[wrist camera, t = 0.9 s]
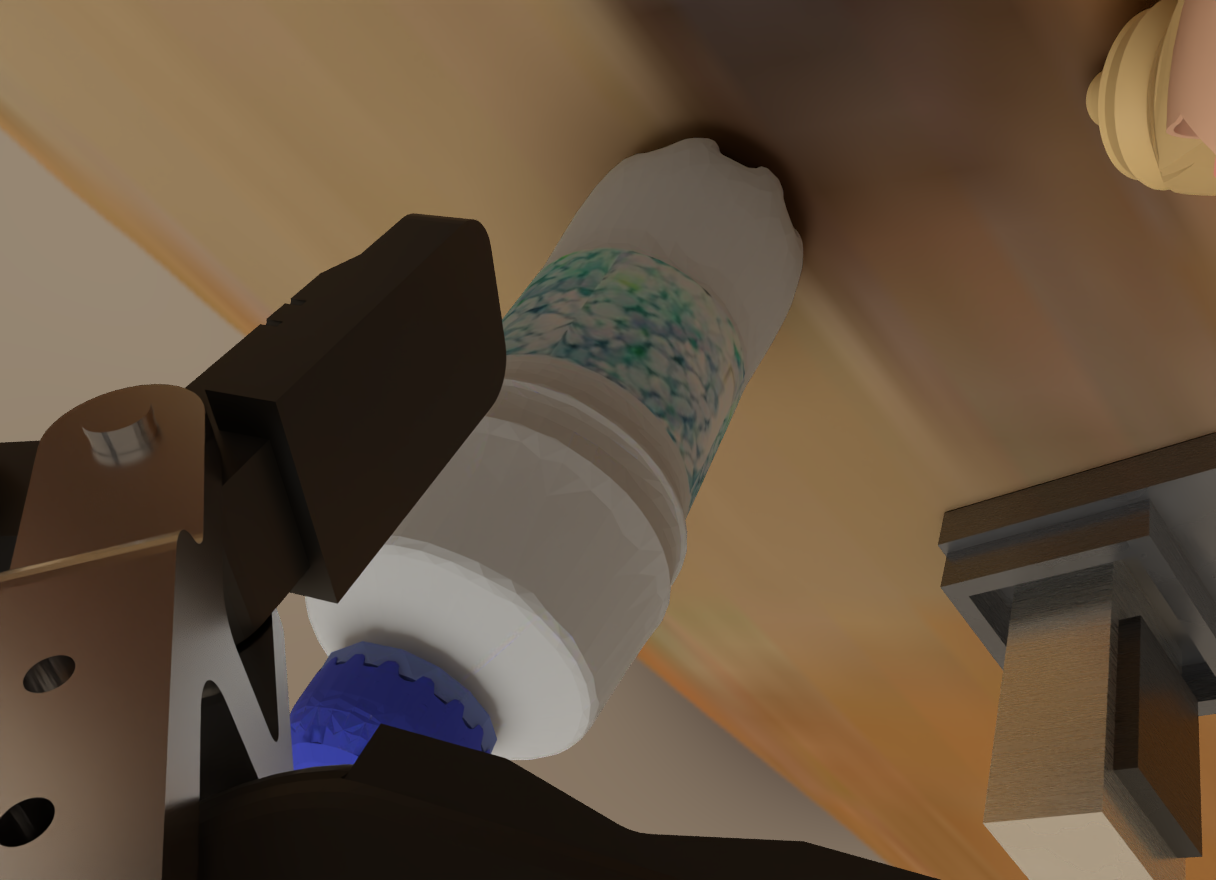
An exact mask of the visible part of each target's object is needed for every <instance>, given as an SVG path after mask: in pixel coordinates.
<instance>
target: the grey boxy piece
mask: <svg viewBox="0 0 1216 880" xmlns="http://www.w3.org/2000/svg"><path fill="white" fill-rule="evenodd" d="M938 546H939V547H940V549H941V550H942V551H943V553H944V554H945V555H946V562H945V567H944V572H943V577H942V582H941V589H942V590H943V591H944V593H945V594H946V595H947V597H948V598H949V599H950V600H951V602H952V603H953V604H954V606H955V607H956V608H957V610H958V611H959V612H960V614H961V615H962V616H963V618H964V619H965V620H966V622H967V623H968V624H969V626H970V627H971V628H972V630H973V631H974V632H975V634H976V635H977V636H978V638H979V639H980V640H981V642H982V643H983V644H984V646H985V647H986V648H987V650H988V651H989V652H990V654H991V655H992V656H993V658H994V659H995V660H996V662H997V663H998V664H999V665H1000V667H1001V668H1002V669H1003V676H1002V684H1001V691H1000V699H999V706H998V714H997V721H996V729H995V736H994V744H993V751H992V759H991V766H990V774H989V782H988V789H987V797H986V804H985V812H984V819H983V824H984V825H985V826H986V828H987V829H988V830H989V831H990V832H991V834H992V835H993V836H994V837H995V839H996V840H997V841H998V842H999V843H1000V845H1001V846H1002V847H1003V848H1004V849H1005V851H1006V852H1007V853H1008V854H1009V856H1010V857H1011V858H1012V859H1013V860H1014V862H1015V863H1016V864H1017V865H1018V866H1019V868H1020V869H1021V870H1022V871H1023V873H1024V874H1025V875H1026V876H1027V877H1028V879H1029V880H1185V858H1187V857H1202V828H1201V793H1200V758H1199V723H1198V716H1203V715H1210V714H1216V433H1214V434H1210V435H1207V436H1204V437H1200V438H1197V439H1194V440H1190V441H1187V442H1183V443H1180V444H1177V445H1173V446H1170V447H1166V448H1163V449H1160V450H1156V451H1153V452H1150V453H1146V454H1143V455H1139V456H1136V457H1133V458H1129V459H1126V460H1122V461H1119V462H1116V463H1112V464H1109V465H1106V466H1102V467H1099V468H1095V469H1092V470H1089V471H1085V472H1082V473H1078V474H1075V475H1072V476H1068V477H1065V478H1062V479H1058V480H1055V481H1051V482H1048V483H1045V484H1041V485H1038V486H1034V487H1031V488H1028V489H1024V490H1021V491H1018V492H1014V493H1011V494H1007V495H1004V496H1001V497H997V498H994V499H990V500H987V501H984V502H980V503H977V504H974V505H970V506H967V507H963V508H960V509H957V510H953V511H950V512H946V513H945V514H944V518H943V523H942V528H941V533H940V538H939V542H938Z"/></svg>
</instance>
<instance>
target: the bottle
mask: <svg viewBox="0 0 1216 880" xmlns="http://www.w3.org/2000/svg"><path fill="white" fill-rule="evenodd" d="M802 265H803V243H802V239H801V237H800V235H799V233H798V232H797V230H796V229H794V228H793V225H792V223H791V220H790V217H789V215H788V212H787V209H786V206H785V202H784V199H783V189H782V186H781V184H780V181H779V179H778V178H777V177H776V176H775V175H774V174H773V173H772V172H771V171H770V170H769V169H768V168H765V167H762V166H761V167H758V168H747V167H745V166H744V165H742V164H740V163H738V162H736V161H734V160H732V159H730V158H728V157H726V156H724V155H722V154H721V153H720V151H719V147H718V145H717V144H716V142H715V141H713V140H711V139H708V138H689V139H684V140H682V141H679V142H677V143H674V144H672V145H669V146H667V147H664V148H661V149H657V150H654V151H651V152H648V153H638V154H635V155H633V156H630V157H628V158H626V159H624V160H622V161H621V162H620V163H619V164H618V165H616V166H615V167H614V168H613V169H612V170H611V171H610V172H609V173H608V174H607V175H606V176H605V177H604V178H603V179H602V180H601V181H600V182H599V183H598V185H597V186H596V187H595V188H594V189H593V191H592V192H591V194H590V195H589V196H588V198H587V199H586V200H585V202H584V203H583V205H582V206H581V207H580V209H579V210H578V211H577V213H576V214H575V216H574V218H573V219H572V221H571V223H570V224H569V226H568V228H567V229H566V231H565V233H564V234H563V236H562V237H561V239H560V241H559V242H558V244H557V246H556V247H555V249H554V251H553V252H552V254H551V256H550V257H549V259H548V260H547V262H546V264H545V265H544V267H543V268H542V269H541V271H540V272H539V273H538V274H537V276H536V277H535V278H534V279H533V281H532V282H531V283H530V284H529V286H528V287H527V288H526V290H525V291H524V292H523V293H522V295H521V296H520V297H519V299H518V300H517V301H516V302H515V304H514V305H513V306H512V308H511V309H510V310H509V311H508V313H507V314H506V315H505V317H504V318H503V319H502V324H503V330H504V337H505V344H506V370H505V376H504V381H503V385H502V388H501V391H500V393H499V396H498V398H497V400H496V402H495V403H494V404H493V406H492V407H491V409H490V410H489V411H488V412H487V414H486V415H485V416H484V417H483V419H482V420H481V421H480V423H479V424H478V425H477V426H476V428H475V429H474V430H473V432H472V433H471V434H470V435H469V437H468V438H467V439H466V441H465V442H464V443H463V444H462V446H461V447H460V448H459V449H458V451H457V452H456V453H455V455H454V456H453V457H452V458H451V460H450V461H449V462H448V464H447V465H446V466H445V467H444V469H443V470H442V471H441V472H440V474H439V475H438V476H437V478H436V479H435V480H434V481H433V483H432V484H431V485H430V487H429V488H428V489H427V490H426V492H425V493H424V494H423V495H422V497H421V498H420V499H419V501H418V502H417V503H416V504H415V506H414V507H413V508H412V510H411V511H410V512H409V513H408V515H407V516H406V517H405V518H404V520H403V521H402V522H401V524H400V525H399V526H398V527H397V529H396V530H395V531H394V533H393V534H392V535H391V536H390V538H389V539H388V540H387V541H386V543H385V544H384V545H383V547H382V548H381V549H380V550H379V552H378V553H377V554H376V556H375V557H374V558H373V559H372V561H371V562H370V563H369V564H368V566H367V567H366V568H365V570H364V571H363V572H362V573H361V575H360V576H359V577H358V579H357V580H356V581H355V582H354V584H353V585H352V586H351V587H350V589H349V590H348V591H347V593H346V594H345V595H344V596H343V598H342V599H341V600H340V602H339V603H338V604H336V603H332V602H328V601H324V600H319V599H315V598H311V597H307V596H305V601H306V607H307V612H308V617H309V620H310V622H311V624H312V627H313V629H314V632H315V634H316V636H317V639H318V641H319V643H320V644H321V646H322V648H323V649H324V651H325V652H326V654H327V655H328V659H327V660H326V662H325V663H324V665H323V667H322V668H321V669H320V670H319V671H318V673H317V674H316V675H315V677H314V678H313V679H312V681H311V682H310V684H309V685H308V686H307V688H306V689H305V691H304V692H303V694H302V695H301V696H300V698H299V699H298V701H297V702H296V704H295V705H294V707H293V709H292V711H291V713H290V726H291V740H292V755H293V768H294V770H298V769H304V768H309V767H316V766H329V765H341V764H354V763H355V761H356V760H357V758H358V757H359V755H360V754H361V752H362V751H363V749H364V748H365V746H366V745H367V743H368V742H369V740H370V739H371V737H372V736H373V734H374V733H375V731H376V730H377V728H378V727H379V725H380V724H381V723H382V724H385V725H389V726H392V727H396V728H400V729H403V730H407V731H410V732H414V733H418V734H421V735H425V736H428V737H432V738H435V739H439V740H443V741H446V742H450V743H453V744H457V745H460V746H464V747H468V748H471V749H475V750H478V751H482V752H485V753H489V754H493V755H496V756H500V757H503V758H506V759H508V760H531V759H537V758H541V757H547V756H551V755H556V754H558V753H561V752H563V751H564V750H567V749H569V748H570V747H571V746H573V745H574V744H575V743H577V742H578V741H579V740H581V739H582V737H583V736H584V735H585V734H586V732H587V731H588V730H589V729H590V728H591V726H592V725H593V723H594V722H595V720H596V719H597V717H598V715H599V714H600V712H601V711H602V709H603V708H604V706H605V704H606V703H607V701H608V700H609V698H610V697H611V695H612V693H613V692H614V690H615V688H616V687H617V686H618V684H619V682H620V681H621V679H622V678H623V676H624V675H625V673H626V671H627V670H628V668H629V667H630V665H631V663H632V662H633V661H634V659H635V658H636V656H637V655H638V653H639V652H640V650H641V649H642V647H643V646H644V644H645V643H646V641H647V640H648V639H649V637H650V636H651V635H652V633H653V632H654V631H655V629H656V628H657V627H658V625H659V624H660V623H661V621H662V620H663V617H664V615H665V612H666V610H667V607H668V605H669V599H670V589H671V585H672V584H673V583H674V581H675V579H676V577H677V576H678V574H679V572H680V570H681V568H682V565H683V562H684V558H685V555H686V551H687V528H686V522H685V519H686V517H687V515H688V513H689V511H690V508H691V506H692V504H693V502H694V500H695V497H696V495H697V493H698V491H699V489H700V486H701V484H702V482H703V480H704V478H705V475H706V473H707V471H708V469H709V467H710V464H711V462H712V460H713V458H714V456H715V453H716V451H717V449H718V447H719V445H720V442H721V440H722V438H723V436H724V434H725V431H726V429H727V427H728V425H729V423H730V420H731V418H732V416H733V414H734V412H735V409H736V407H737V405H738V402H739V400H740V398H741V395H742V393H743V391H744V389H745V387H746V385H747V383H748V382H749V380H750V378H751V377H752V375H753V374H754V372H755V370H756V369H757V367H758V365H759V364H760V362H761V360H762V359H763V357H764V355H765V354H766V352H767V350H768V349H769V347H770V346H771V344H772V342H773V340H774V338H775V336H776V334H777V333H778V331H779V329H780V327H781V325H782V323H783V321H784V320H785V317H786V315H787V313H788V311H789V309H790V306H791V304H792V301H793V298H794V295H795V292H796V288H797V285H798V282H799V278H800V274H801V270H802Z"/></svg>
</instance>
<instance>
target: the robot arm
mask: <svg viewBox="0 0 1216 880" xmlns="http://www.w3.org/2000/svg"><path fill="white" fill-rule="evenodd" d="M505 370H506V344H505V337H504V330H503V324H502V317H501V311H500V304H499V297H498V291H497V284H496V277H495V271H494V264H493V257H492V251H491V245H490V240H489V237H488V234H487V232H486V230H485V228H484V226H483V225H482V224H481V223H480V222H479V221H477V220H473V219H463V218H453V217H443V216H433V215H424V214H409V215H406V216H405V217H403V218H402V219H401V220H400V221H399V222H397V223H396V224H395V225H394V226H393V227H392V228H391V229H389V230H388V231H387V232H386V233H385V234H384V235H382V236H381V237H380V238H379V239H378V240H377V241H375V242H374V243H373V244H372V245H371V246H370V247H369V248H367V249H366V250H365V251H364V252H363V253H362V254H360V255H358V256H356V257H354V258H352V259H350V260H348V261H346V262H344V263H341V264H339V265H337V266H335V267H333V268H331V269H329V270H327V271H325V272H323V273H321V274H319V275H318V276H317V277H316V278H315V279H313V280H312V281H311V282H310V283H309V284H307V285H306V286H305V287H304V288H303V289H302V290H300V291H299V292H298V293H297V294H296V295H294V296H293V297H292V298H291V304H284V305H283V306H281V307H280V308H279V309H278V310H277V311H276V312H274V313H273V314H272V315H271V316H270V317H268V318H267V323H266V325H261V324H260V325H259V326H258V327H257V328H255V329H254V330H253V331H252V332H251V333H250V334H248V335H247V336H246V337H245V338H244V339H242V340H241V341H240V342H239V343H238V344H237V345H235V346H234V347H233V348H232V349H231V350H229V351H228V352H227V353H226V354H225V355H224V356H222V357H221V358H220V359H219V360H218V361H216V362H215V363H214V364H213V365H212V366H210V367H209V368H208V369H207V370H206V371H205V372H203V373H202V374H201V375H200V376H199V377H197V378H196V379H195V380H194V381H193V382H192V383H190V384H189V385H188V386H187V387H186V388H182V387H179V386H173V385H165V384H151V385H139V386H133V387H127V388H123V389H120V390H115V391H112V392H109V393H106V394H103V395H100V396H98V397H95V398H93V399H91V400H88V401H86V402H84V403H83V404H80V405H78V406H77V407H75V408H73V409H72V410H70V411H69V412H67V413H65V414H64V415H63V416H61V417H60V418H59V419H58V420H57V421H55V422H54V423H53V424H52V425H51V426H50V427H49V428H48V430H47V431H46V432H45V434H44V435H43V437H42V438H41V440H40V441H25V442H5V443H0V880H940V879H936V878H932V877H929V876H925V875H922V874H918V873H915V872H911V871H907V870H904V869H900V868H897V867H893V866H890V865H886V864H882V863H878V862H875V861H872V860H868V859H864V858H861V857H857V856H854V855H850V854H846V853H843V852H839V851H836V850H832V849H829V848H825V847H822V846H818V845H814V844H811V843H807V842H804V841H783V840H762V839H761V840H760V839H741V838H720V837H699V836H678V835H657V834H645V833H639V832H635V831H632V830H629V829H627V828H625V827H623V826H620V825H619V824H617V823H615V822H613V821H612V820H610V819H608V818H607V817H605V816H603V815H602V814H600V813H598V812H596V811H595V810H593V809H591V808H590V807H588V806H586V805H584V804H583V803H581V802H579V801H578V800H576V799H574V798H572V797H571V796H569V795H568V794H566V793H564V792H563V791H561V790H559V789H557V788H556V787H554V786H552V785H551V784H549V783H547V782H546V781H544V780H542V779H540V778H539V777H537V776H535V775H534V774H532V773H530V772H529V771H527V770H525V769H523V768H522V767H520V766H518V765H517V764H515V763H513V762H511V761H510V760H508V759H506V758H503V757H500V756H496V755H493V754H489V753H485V752H482V751H478V750H475V749H471V748H468V747H464V746H460V745H457V744H453V743H450V742H446V741H443V740H439V739H435V738H432V737H428V736H425V735H421V734H418V733H414V732H410V731H407V730H403V729H400V728H396V727H392V726H389V725H385V724H382V723H381V724H380V725H379V727H378V728H377V730H376V731H375V733H374V734H373V736H372V737H371V739H370V740H369V742H368V743H367V745H366V746H365V748H364V749H363V751H362V752H361V754H360V755H359V757H358V758H357V760H356V761H355V763H354V764H341V765H329V766H316V767H309V768H304V769H298V770H294V768H293V755H292V740H291V726H290V712H289V698H288V684H287V670H286V656H285V642H284V631H283V626H282V623H281V620H280V617H279V614H278V611H277V609H276V607H277V606H278V605H279V604H280V603H281V602H282V600H283V599H284V598H285V597H286V596H287V594H288V593H289V592H290V593H295V594H299V595H303V596H307V597H311V598H315V599H319V600H324V601H328V602H332V603H336V604H338V603H339V602H340V600H341V599H342V598H343V596H344V595H345V594H346V593H347V591H348V590H349V589H350V587H351V586H352V585H353V584H354V582H355V581H356V580H357V579H358V577H359V576H360V575H361V573H362V572H363V571H364V570H365V568H366V567H367V566H368V564H369V563H370V562H371V561H372V559H373V558H374V557H375V556H376V554H377V553H378V552H379V550H380V549H381V548H382V547H383V545H384V544H385V543H386V541H387V540H388V539H389V538H390V536H391V535H392V534H393V533H394V531H395V530H396V529H397V527H398V526H399V525H400V524H401V522H402V521H403V520H404V518H405V517H406V516H407V515H408V513H409V512H410V511H411V510H412V508H413V507H414V506H415V504H416V503H417V502H418V501H419V499H420V498H421V497H422V495H423V494H424V493H425V492H426V490H427V489H428V488H429V487H430V485H431V484H432V483H433V481H434V480H435V479H436V478H437V476H438V475H439V474H440V472H441V471H442V470H443V469H444V467H445V466H446V465H447V464H448V462H449V461H450V460H451V458H452V457H453V456H454V455H455V453H456V452H457V451H458V449H459V448H460V447H461V446H462V444H463V443H464V442H465V441H466V439H467V438H468V437H469V435H470V434H471V433H472V432H473V430H474V429H475V428H476V426H477V425H478V424H479V423H480V421H481V420H482V419H483V417H484V416H485V415H486V414H487V412H488V411H489V410H490V409H491V407H492V406H493V404H494V403H495V402H496V400H497V398H498V396H499V393H500V391H501V388H502V385H503V381H504V376H505Z"/></svg>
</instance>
